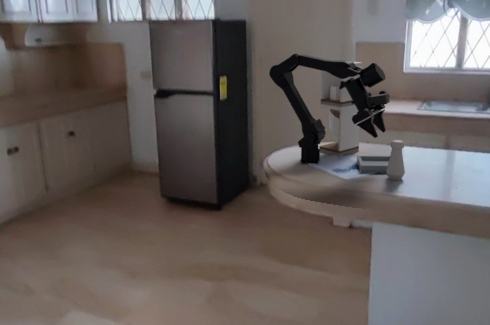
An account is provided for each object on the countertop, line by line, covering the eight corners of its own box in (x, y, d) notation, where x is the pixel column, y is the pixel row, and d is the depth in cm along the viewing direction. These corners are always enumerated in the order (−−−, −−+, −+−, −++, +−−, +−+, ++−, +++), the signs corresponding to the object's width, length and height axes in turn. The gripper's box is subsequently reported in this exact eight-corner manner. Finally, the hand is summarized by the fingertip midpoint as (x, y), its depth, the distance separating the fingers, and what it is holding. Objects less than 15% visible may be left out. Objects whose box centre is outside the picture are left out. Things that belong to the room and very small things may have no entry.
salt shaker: (404, 176, 170) (407, 139, 166) (403, 182, 165) (406, 143, 161) (386, 175, 172) (389, 138, 168) (385, 180, 167) (387, 142, 163)
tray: (360, 172, 176) (361, 165, 175) (356, 161, 188) (357, 155, 187) (399, 172, 174) (399, 166, 174) (392, 162, 187) (393, 155, 186)
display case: (338, 146, 211) (341, 60, 201) (358, 151, 203) (362, 62, 193) (319, 151, 204) (321, 62, 194) (339, 156, 196) (343, 64, 186)
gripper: (370, 86, 161) (394, 129, 161) (387, 79, 176) (408, 119, 176) (341, 102, 167) (364, 144, 167) (360, 94, 183) (380, 133, 182)
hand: (380, 134), depth 173 cm, fingers open, 9 cm apart
